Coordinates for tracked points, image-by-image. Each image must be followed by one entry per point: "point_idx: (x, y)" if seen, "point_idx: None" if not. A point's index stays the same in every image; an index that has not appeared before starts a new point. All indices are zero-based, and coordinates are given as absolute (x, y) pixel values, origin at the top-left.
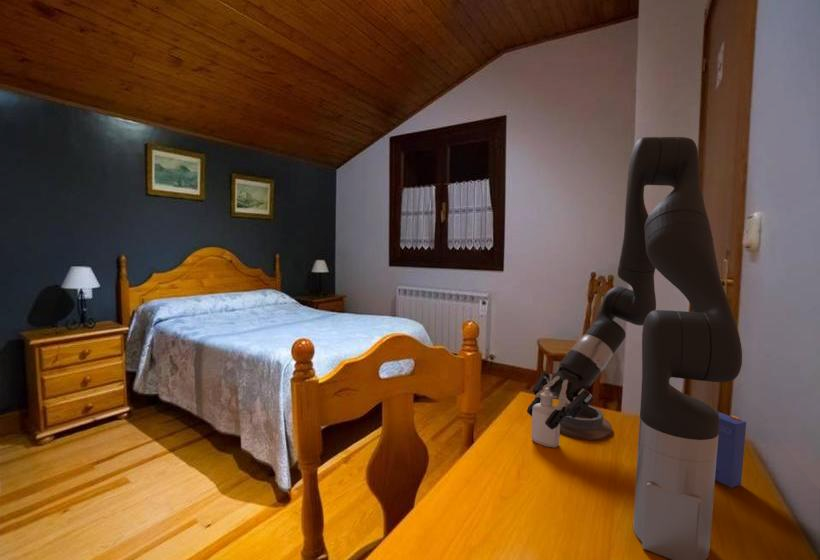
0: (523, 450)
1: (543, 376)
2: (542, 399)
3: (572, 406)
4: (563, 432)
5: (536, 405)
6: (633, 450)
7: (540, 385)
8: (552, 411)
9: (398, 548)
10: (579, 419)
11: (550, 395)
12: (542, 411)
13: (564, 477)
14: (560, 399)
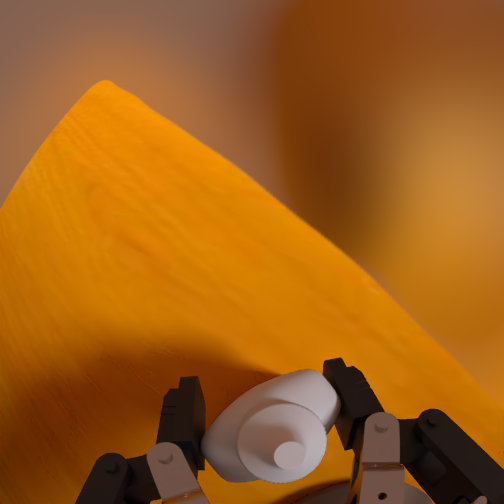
0: (231, 317)
1: (493, 492)
2: (269, 403)
3: (89, 482)
4: (303, 499)
5: (301, 383)
6: None
7: (445, 462)
8: (213, 433)
9: (97, 84)
10: None
11: (246, 457)
12: (247, 392)
13: (84, 343)
14: (191, 493)
